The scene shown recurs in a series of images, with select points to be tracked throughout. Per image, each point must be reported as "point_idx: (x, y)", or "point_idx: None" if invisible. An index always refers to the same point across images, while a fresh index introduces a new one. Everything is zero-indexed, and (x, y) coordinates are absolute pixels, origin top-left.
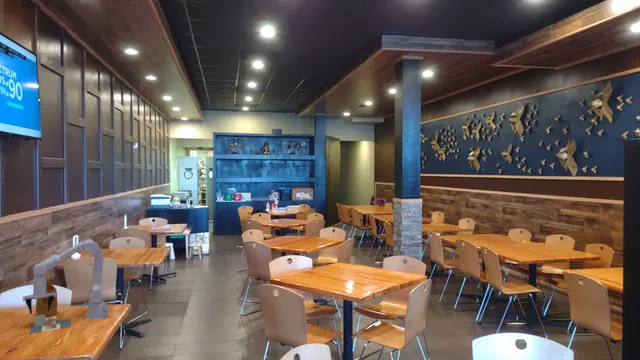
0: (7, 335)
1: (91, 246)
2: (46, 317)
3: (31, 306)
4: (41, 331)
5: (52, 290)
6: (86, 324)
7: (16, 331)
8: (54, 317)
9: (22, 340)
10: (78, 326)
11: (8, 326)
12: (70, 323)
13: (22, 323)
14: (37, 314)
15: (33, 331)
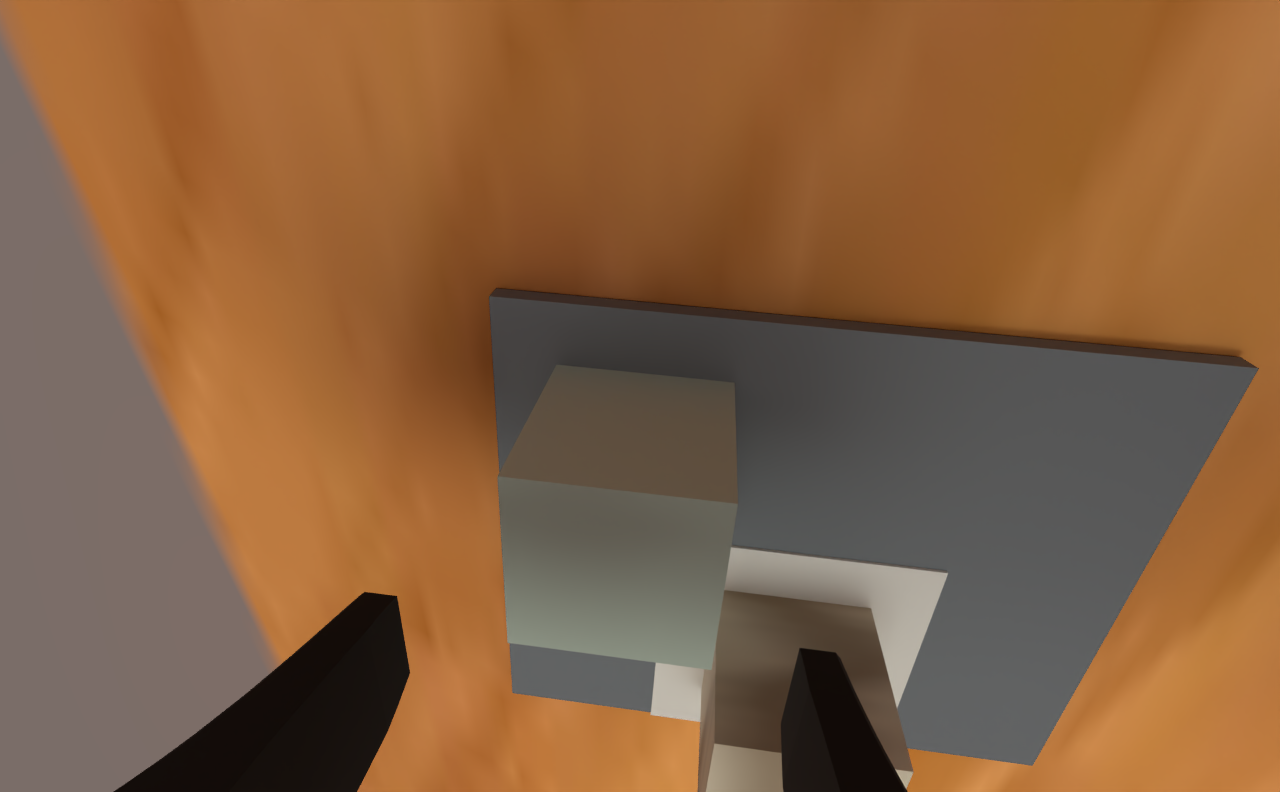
0: (248, 549)
1: None
2: (727, 756)
3: (273, 768)
4: (649, 707)
5: None
6: (1265, 745)
7: (320, 462)
8: None
9: (463, 774)
10: (1130, 750)
11: (73, 73)
12: (1090, 647)
13: (299, 11)
14: None
15: (552, 654)
